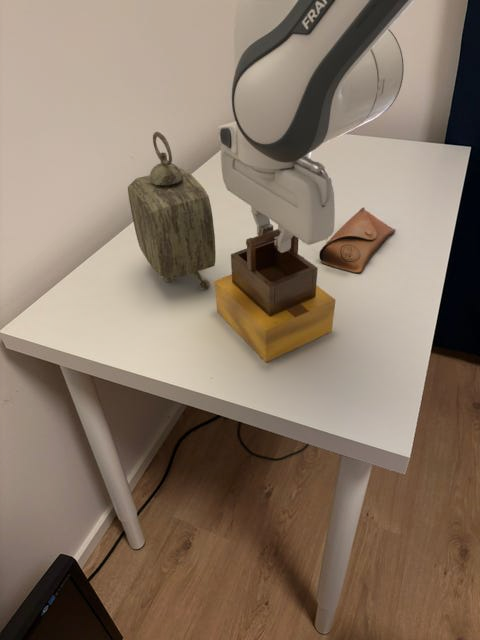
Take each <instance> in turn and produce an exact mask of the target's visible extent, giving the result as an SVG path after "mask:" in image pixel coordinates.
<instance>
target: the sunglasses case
mask: <svg viewBox="0 0 480 640" xmlns="http://www.w3.org/2000/svg"><path fill="white" fill-rule="evenodd" d="M395 232H396V229H395V228H393V227H391V226H390V225H388V224H387V223H385V222H384V221H382V220H381V219H379V218H378V217H376V216H375V215H373V214H372V213H371V212H369V211H367V210H366V209H365V207H361V208H360V209H359V211H357V212H356V213H355V214H354V215H353V216H351V218H349V219H348V220H347V221H346V222H345V223H344V224H343V225H342V226H341V227H340V228H338V230H337V231H336V232H335V233H334V234H333V235H332V236H331V237H330V239H329V240H328V241H327V242H326V243H325V245H323V246H322V247H321V249H320V251H319V253H318V254H319V255H318V256H319V261H321V263H322V264H324V265H326V266H329V267H331V268H334V269H337V270H342V271H345V272H350V273H356V274H357V273H358V274H361V273H362V272H363V270H364V269H365V267H366V266H367V263H368V262H369V261H370V259H371V258H372V256H373V255H375V253H376V252H377V250H378V249H379V248H380V247H381V246H382V245H383V244H384V243H385V242H386V241H387V240H388V239H389V238H390V237H391V236H392V235H393V234H394V233H395Z"/></svg>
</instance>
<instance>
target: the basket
mask: <svg viewBox="0 0 480 640" xmlns="http://www.w3.org/2000/svg"><path fill="white" fill-rule="evenodd" d="M280 233H281V231H279V230H278V228H276V229H273V231H271V232H268V233H265V234H262V235H259V236H258V235H256V236H254V237H249V238H246V240H245V244H246V245H245V246H246V248H244V249H241V250H238V251H235V252H233V253H231V254H230V266H231V274H232V282H233V283H234V284H235V285H236V286H237V287H238V288H239V289H240V290H241V291H242V292H243V293H244V294H246V295H247V296H248V297H249V298H250V299H251V300H252V301H253V302H254V303H255V304H256V305H257V306H259V307H260V308H261V309H262V310H263V311H264V312H265V313H266V314H267V315H268V316H269V317H270V316H273V315H275V314H277V313H280V312H282V311H284V310H286V309H289V308H291V307H293V306H296V305H298V304H300V303H303V302H305V301H307V300H310V299H312V298H314V297H316V285H317V282H318V281H317V280H318V271H319V270H318V269H319V268H318V267H317V266H316V265H314V264H313V263H311V262H310V261H309V260H308V259H306V258H304V257H303V256H302V255H300V254H299V241H300V239H298V238H297V237H296V236H293V237H292V238H291V248H290V250H288V251H286V252H283V253H281V252H279V251H278V250H277V249H276V248H274V237H277V236H279V235H280Z"/></svg>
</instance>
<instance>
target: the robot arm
mask: <svg viewBox="0 0 480 640" xmlns="http://www.w3.org/2000/svg"><path fill="white" fill-rule="evenodd" d="M414 2H415V0H237V3H236V10H235V17H234V27H233V28H234V29H233V30H234V31H233V65H234V67H233V68H234V75H233V80H232V86H231V107H232V113H233V117H234V120H235V121H232V122H229V123H225V124H222V125H218V127H217V131H216V132H217V141H218V142H219V144H221V147H220V163H221V165H220V166H221V175H222V181H223V183H224V186H225V188H226V190H227V191H228V192H230V193H231V194H233V195H234V196H235V197H237V198H238V199H239V200H241V201H243V202H244V203H246V204H247V205H249V206H250V211H251V213H252V217H253V220H254V222H255V225H256V236H259V235H262V234H265V233H268V232H271V231H274V225H273V224H272V223H271V221H272V222H274V223H275V224H276V225H277V229H278V230H279V231H281V233H280V235H279V236H277V237H274V248H276V249H277V250H278V251H279V252H281V253H283V252H286V251H288V250H290V248H291V238H292V237H293V236H296V237H297V238H298V239H299V241H301V242H303V243H304V244H306V245H308V246H311V245H315V244H317V243H320V242H322V241H325V240H327V239H329V238H331V237H332V236H333V235H334V232H335V221H336V208H335V206H336V205H335V191H334V185H333V182H332V178H331V177H330V176H329V174H328V172H327V171H326V167H325V165H324V164H322V163H321V162H319V161H314V160H313V159H311V156H312V152H313V151H315V150H317V149H318V148H319V147H320V146H322V145H324V144H326V143H328V142H330V141H333V140H334V139H337V138H338V137H341V136H343V135H345V134H346V133H347V134H348V133H349V132H351V131H354V129H356V128H358V127H361V126H363V125H365V124H367V123H368V122H371V121H373V120H374V119H376V118H378V117H379V116H381V115H382V114H384V113H385V112H387V111H388V110H389V109H390V108H391V107H392V106H393V104H394V102H395V101H396V100H397V97H398V96H399V94H400V91H401V88H402V85H403V79H404V67H405V65H404V58H403V52H402V49H401V46H400V43H399V41H398V39H397V37H396V36H395V34H394V33H393V32H392V31H391V30H390V28H391V27H392V26H393V25H394V24H395V23H396V21H398V20H399V18H400V17H401V16H402V15H403V14H404V13H405V12H406V10H407V9H409V7H410V6H411V5H412V3H414ZM270 220H271V221H270Z"/></svg>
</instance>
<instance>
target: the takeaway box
mask: <svg viewBox="0 0 480 640" xmlns="http://www.w3.org/2000/svg"><path fill="white" fill-rule="evenodd" d="M214 291H215V302H216V304H215V305H216V312H217V313H218V314H219V315H220V316H221V317H222V318H223V319H224V320H225V321H226V322H227V324H229V325H230V327H232V328H233V330H234V331H235V332H236V333H237V334H238V336H240V337H241V338H242V339H243V340H244V341H245V342H246V343H247V344H248V345H249V346H250V348H252V350H254V352H255V353H256V354H258V356H259V357H260V358H261V360H263V361H264V362H265V363H268V362H271V361H272V360H274V359H276V358H279V357H281V356H283V355H285V354H286V353H289V352H291V351H294V350H295V349H297V348H300V347H301V346H305V345H307V344H308V343H310V342H312V341H314V340H316V339H318V338H321V337H322V336H325V335H327V334H329V333H331V332H333V326H334V325H333V324H334V319H335V318H334V316H335V310H336V309H335V307H336V299H335V298H334V297H333V296H332V295H330V294H329V293H328V292H326V291H325V290H324V289H322V288H321V287H320V286H319V285H317V284H316V297H314V298H312V299H310V300H307V301H305V302H303V303H300V304H298V305H296V306H293V307H291V308H289V309H286V310H284V311H282V312H280V313H277V314H275V315H273V316H270V317H269V316H268V315H267V314H266V313H265V312H264V311H263V310H262V309H261V308H260V307H259V306H257V305H256V304H255V303H254V302H253V301H252V300H251V299H250V298H249V297H248V296H247V295H246V294H244V293H243V292H242V291H241V290H240V289H239V288H238V287H237V286H236V285H235V284H234V283H233V282H232V273H231V274H229V275H226V276H223V277H221V278H218V279H215V280H214Z"/></svg>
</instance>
